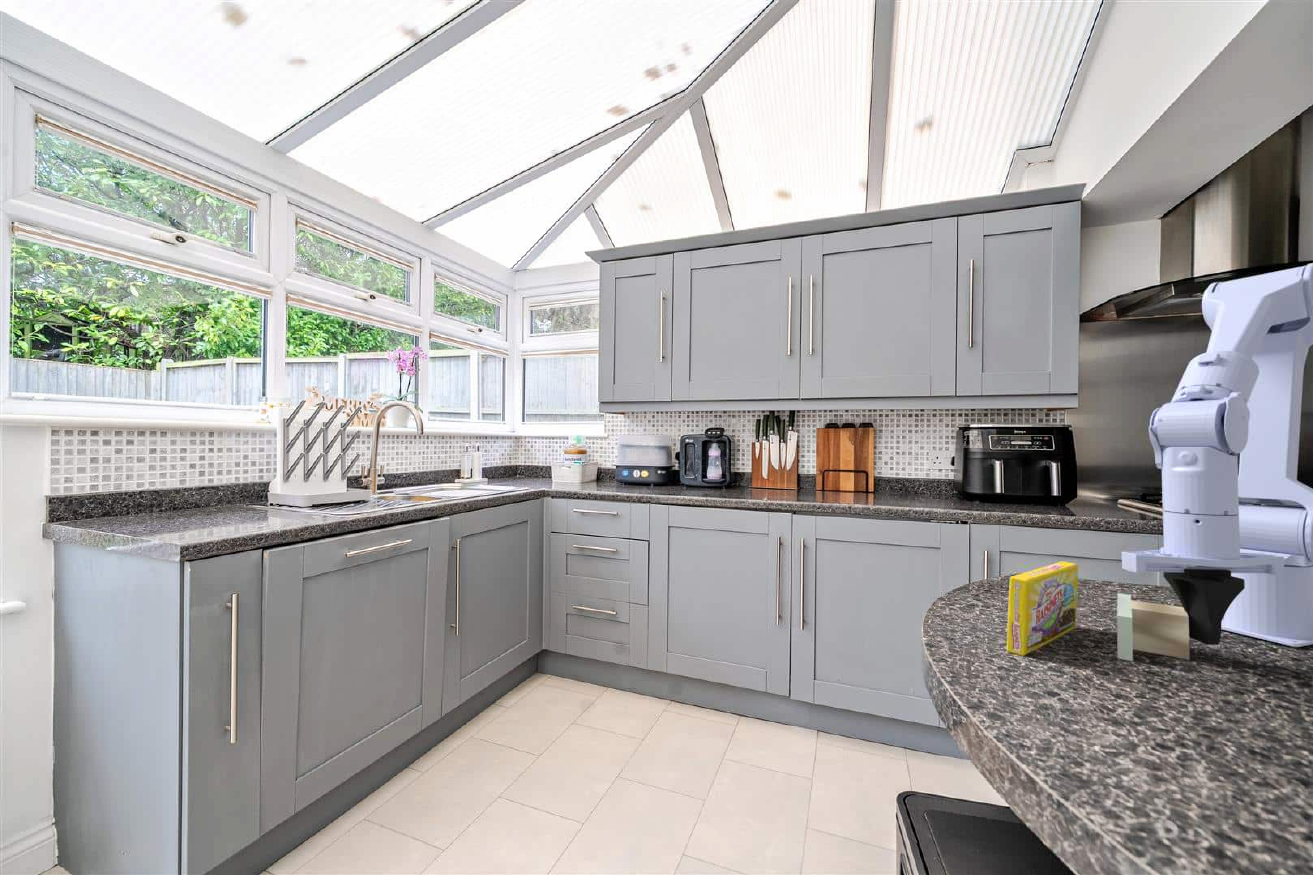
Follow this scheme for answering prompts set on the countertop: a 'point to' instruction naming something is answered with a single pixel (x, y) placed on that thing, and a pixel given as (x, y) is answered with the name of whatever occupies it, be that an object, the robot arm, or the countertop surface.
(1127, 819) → the countertop surface
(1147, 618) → the maple block
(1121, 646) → the sage board
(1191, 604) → the robot arm
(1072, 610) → the candy box
